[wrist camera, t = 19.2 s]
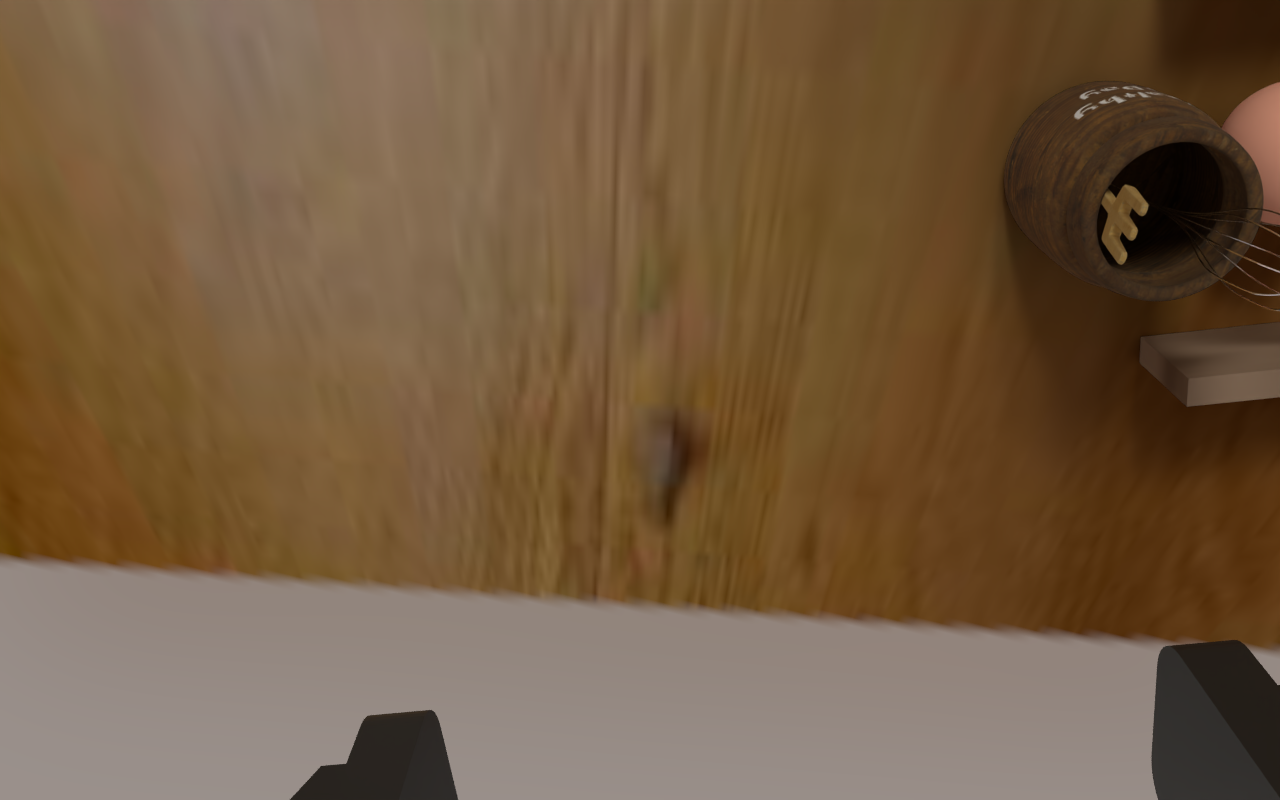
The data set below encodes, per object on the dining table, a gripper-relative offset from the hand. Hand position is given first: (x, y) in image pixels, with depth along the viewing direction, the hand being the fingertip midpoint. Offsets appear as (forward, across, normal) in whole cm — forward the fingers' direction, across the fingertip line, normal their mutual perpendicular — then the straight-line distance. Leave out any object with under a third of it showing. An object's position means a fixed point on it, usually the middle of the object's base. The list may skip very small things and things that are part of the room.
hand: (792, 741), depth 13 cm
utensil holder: (+28, -13, +1) cm, 31 cm away
